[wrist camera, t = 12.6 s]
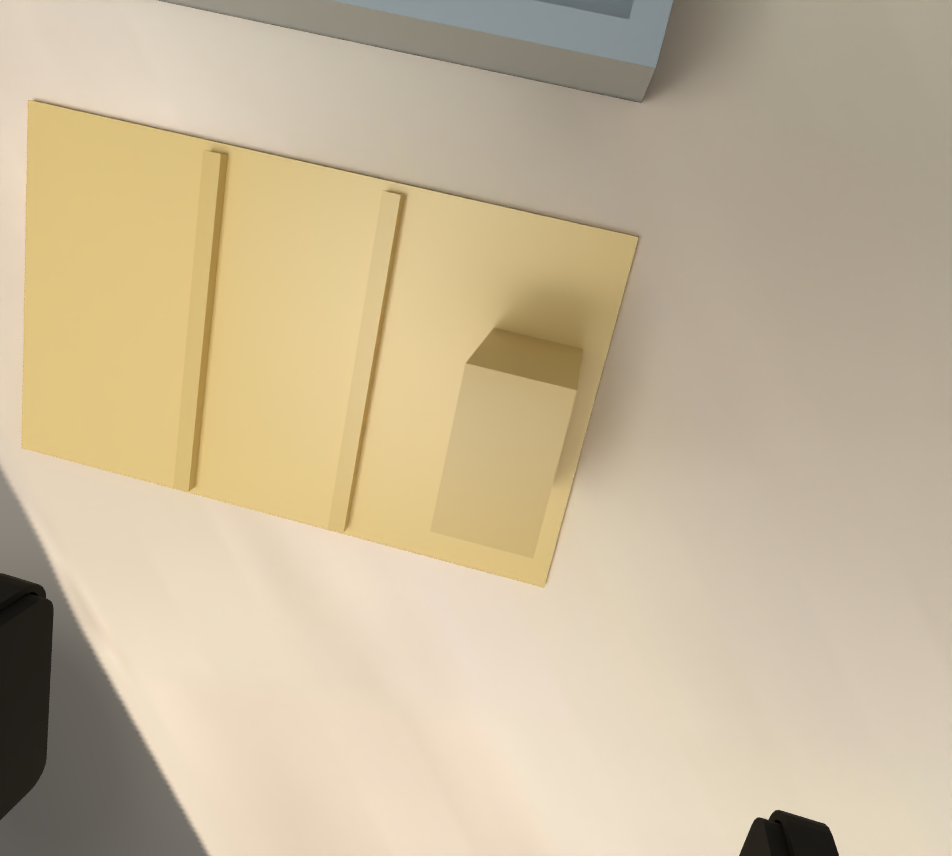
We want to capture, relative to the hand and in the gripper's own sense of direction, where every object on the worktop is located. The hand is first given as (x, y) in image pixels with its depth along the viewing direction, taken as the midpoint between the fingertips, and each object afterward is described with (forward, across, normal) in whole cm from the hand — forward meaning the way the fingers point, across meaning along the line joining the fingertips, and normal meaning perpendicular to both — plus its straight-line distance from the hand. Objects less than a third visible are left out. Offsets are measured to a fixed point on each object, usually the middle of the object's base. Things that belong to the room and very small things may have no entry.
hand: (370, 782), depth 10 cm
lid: (+18, +8, 0) cm, 20 cm away
